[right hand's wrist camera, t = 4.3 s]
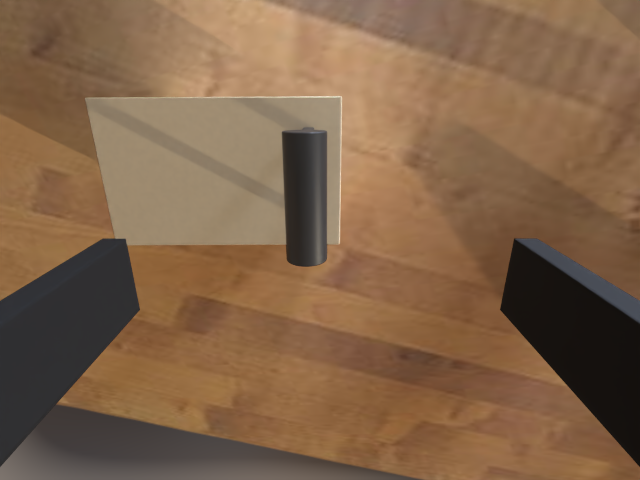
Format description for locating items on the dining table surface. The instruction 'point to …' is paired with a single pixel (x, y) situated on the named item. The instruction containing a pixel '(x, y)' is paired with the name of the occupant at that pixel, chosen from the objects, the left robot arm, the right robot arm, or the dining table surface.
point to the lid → (222, 171)
